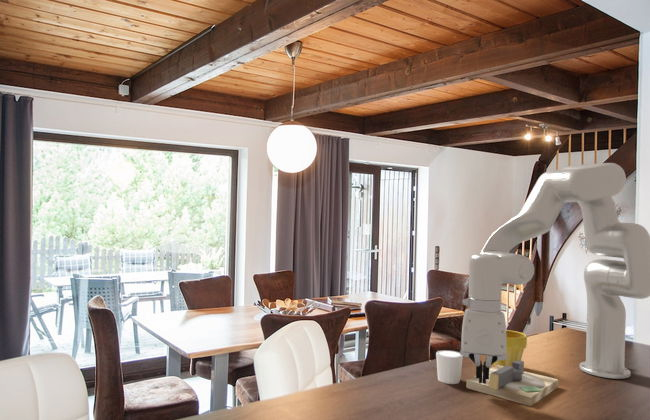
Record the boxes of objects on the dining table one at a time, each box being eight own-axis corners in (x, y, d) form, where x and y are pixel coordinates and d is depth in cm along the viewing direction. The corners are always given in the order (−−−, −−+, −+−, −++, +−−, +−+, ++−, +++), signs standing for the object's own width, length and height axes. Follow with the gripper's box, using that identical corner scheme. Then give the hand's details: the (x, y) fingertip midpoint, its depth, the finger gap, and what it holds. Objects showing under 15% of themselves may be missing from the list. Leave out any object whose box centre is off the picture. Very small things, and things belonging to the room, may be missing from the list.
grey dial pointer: (511, 371, 132) (512, 358, 132) (528, 375, 129) (529, 362, 129) (483, 386, 120) (484, 372, 120) (501, 391, 117) (502, 377, 117)
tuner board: (497, 372, 139) (497, 364, 139) (559, 387, 128) (559, 378, 128) (466, 388, 126) (466, 379, 126) (532, 406, 115) (532, 396, 115)
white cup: (463, 385, 127) (464, 358, 127) (435, 383, 129) (436, 356, 129) (461, 377, 134) (462, 351, 134) (435, 374, 136) (435, 348, 136)
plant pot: (503, 360, 151) (504, 327, 151) (533, 370, 142) (534, 335, 142) (479, 365, 145) (480, 331, 145) (510, 375, 136) (511, 339, 136)
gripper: (451, 305, 119) (449, 383, 119) (519, 311, 115) (516, 391, 115) (453, 300, 127) (450, 373, 127) (516, 305, 122) (514, 380, 122)
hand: (482, 381), depth 121 cm, fingers closed
